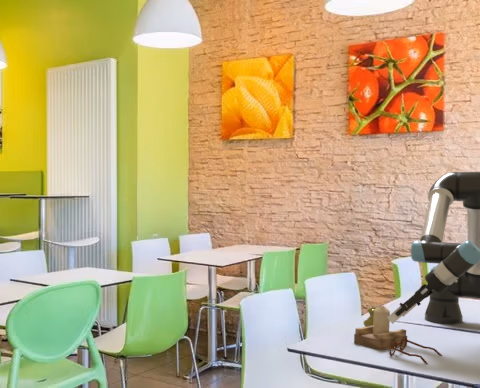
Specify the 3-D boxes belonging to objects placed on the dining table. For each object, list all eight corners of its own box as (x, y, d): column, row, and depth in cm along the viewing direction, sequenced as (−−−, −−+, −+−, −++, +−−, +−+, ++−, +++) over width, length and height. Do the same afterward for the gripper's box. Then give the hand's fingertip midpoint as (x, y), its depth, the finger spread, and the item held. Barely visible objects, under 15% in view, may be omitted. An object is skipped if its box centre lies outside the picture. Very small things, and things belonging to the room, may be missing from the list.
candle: (389, 337, 200) (390, 308, 200) (373, 336, 201) (374, 307, 201) (388, 333, 206) (389, 305, 206) (372, 332, 207) (373, 304, 207)
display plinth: (380, 337, 213) (380, 323, 213) (407, 344, 203) (407, 330, 203) (354, 342, 204) (354, 328, 204) (381, 350, 195) (381, 335, 195)
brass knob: (359, 333, 218) (359, 306, 218) (371, 330, 223) (371, 304, 223) (375, 337, 213) (376, 310, 213) (387, 334, 217) (387, 307, 217)
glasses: (404, 349, 198) (404, 335, 198) (442, 357, 190) (442, 341, 190) (388, 357, 187) (388, 342, 187) (427, 366, 179) (428, 349, 179)
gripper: (441, 291, 181) (393, 332, 189) (456, 281, 203) (412, 319, 210) (424, 273, 184) (377, 314, 192) (440, 265, 205) (397, 302, 213)
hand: (395, 317), depth 201 cm, fingers open, 13 cm apart
